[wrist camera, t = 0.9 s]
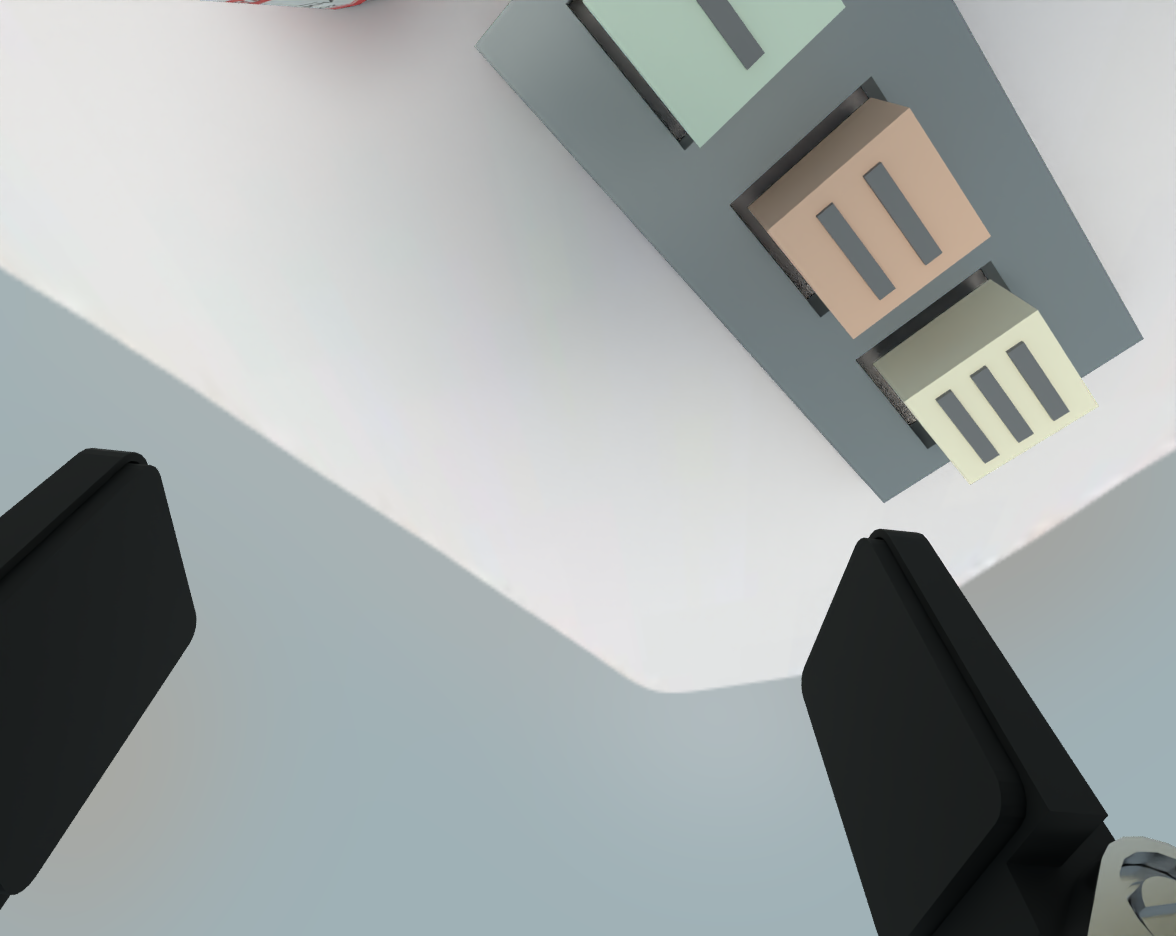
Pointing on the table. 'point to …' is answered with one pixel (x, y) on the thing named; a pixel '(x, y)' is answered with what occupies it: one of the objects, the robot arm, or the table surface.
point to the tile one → (710, 49)
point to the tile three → (987, 380)
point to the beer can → (301, 3)
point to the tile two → (870, 215)
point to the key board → (762, 137)
